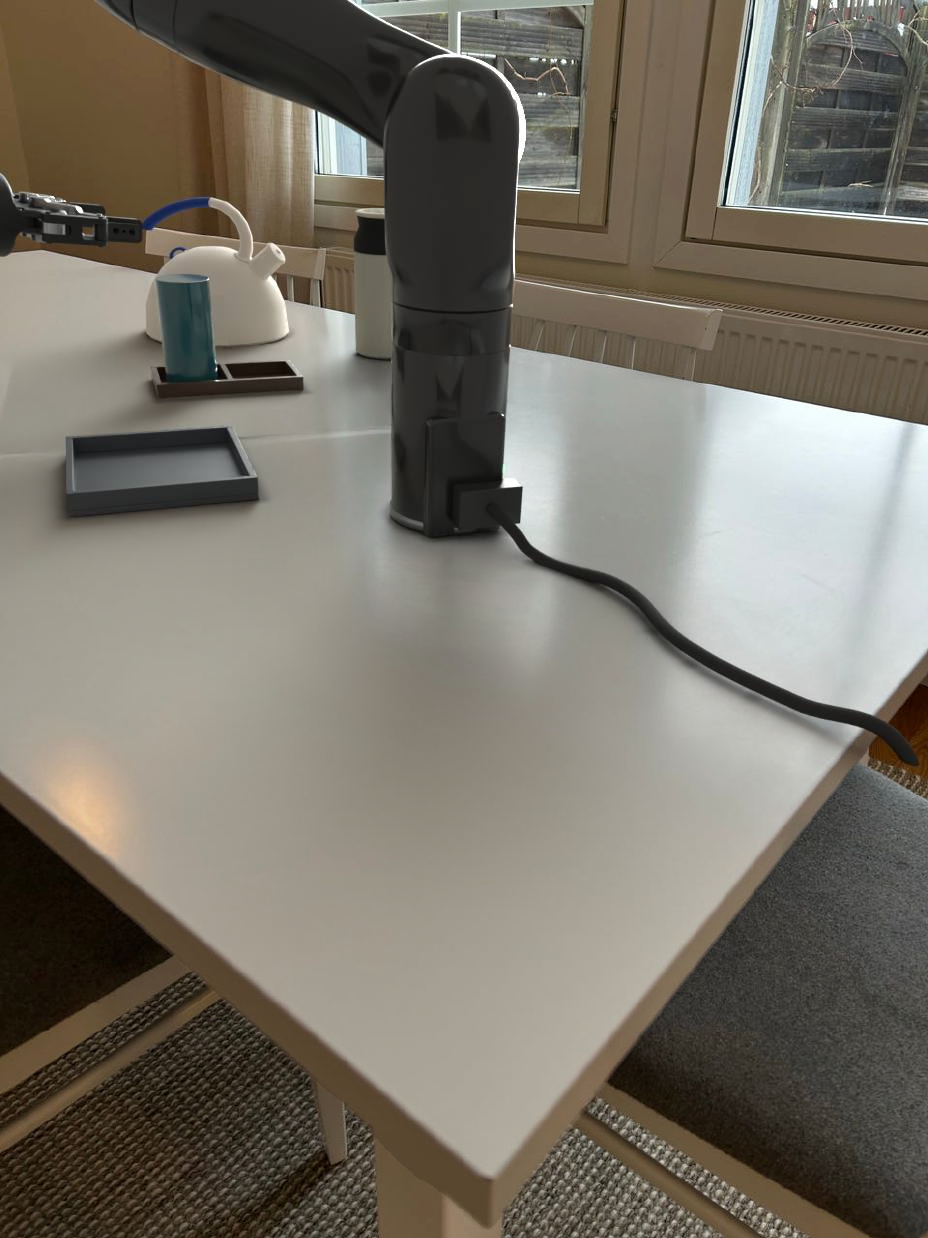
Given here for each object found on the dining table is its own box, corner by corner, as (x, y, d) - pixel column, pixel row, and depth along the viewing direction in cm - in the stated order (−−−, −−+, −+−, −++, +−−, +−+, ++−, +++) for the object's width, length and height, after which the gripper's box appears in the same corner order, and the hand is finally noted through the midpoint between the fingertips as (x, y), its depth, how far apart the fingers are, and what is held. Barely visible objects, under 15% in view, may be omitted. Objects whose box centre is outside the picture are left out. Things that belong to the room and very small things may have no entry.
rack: (303, 392, 111) (303, 376, 110) (158, 401, 106) (156, 384, 105) (289, 374, 118) (289, 359, 117) (152, 382, 113) (150, 366, 112)
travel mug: (346, 356, 128) (342, 211, 119) (369, 344, 135) (368, 206, 126) (400, 362, 126) (401, 215, 117) (422, 350, 132) (424, 210, 124)
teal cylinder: (221, 390, 109) (212, 281, 104) (169, 393, 107) (156, 282, 102) (215, 378, 114) (205, 273, 108) (165, 380, 112) (152, 274, 106)
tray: (259, 499, 81) (257, 477, 81) (69, 517, 77) (65, 493, 76) (233, 444, 94) (231, 424, 93) (69, 457, 89) (65, 436, 88)
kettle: (264, 353, 128) (255, 207, 119) (119, 342, 130) (100, 198, 122) (309, 323, 145) (304, 195, 137) (180, 314, 148) (167, 187, 139)
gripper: (-26, 176, 80) (155, 194, 91) (-79, 154, 89) (91, 173, 100) (-20, 269, 84) (154, 276, 94) (-72, 239, 92) (92, 249, 103)
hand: (121, 223), depth 97 cm, fingers open, 8 cm apart
